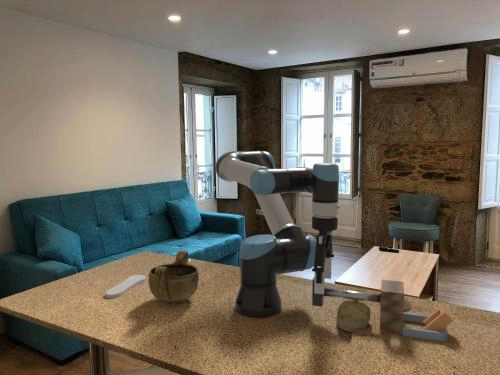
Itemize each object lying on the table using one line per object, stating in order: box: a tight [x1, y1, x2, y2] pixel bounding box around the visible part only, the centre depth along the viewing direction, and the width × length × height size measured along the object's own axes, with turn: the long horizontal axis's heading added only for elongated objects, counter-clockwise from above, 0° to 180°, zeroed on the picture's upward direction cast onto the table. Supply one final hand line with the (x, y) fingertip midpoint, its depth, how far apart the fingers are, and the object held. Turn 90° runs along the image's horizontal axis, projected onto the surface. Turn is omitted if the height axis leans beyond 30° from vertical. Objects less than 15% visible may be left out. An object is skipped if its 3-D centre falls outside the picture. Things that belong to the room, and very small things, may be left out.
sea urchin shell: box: [378, 295, 411, 311], centre depth 131 cm, size 9×8×8 cm
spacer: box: [422, 305, 454, 332], centre depth 112 cm, size 3×5×7 cm
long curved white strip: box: [105, 274, 147, 299], centre depth 153 cm, size 7×22×2 cm, turn 165°
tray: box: [402, 312, 449, 343], centre depth 114 cm, size 11×11×4 cm
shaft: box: [311, 276, 381, 307], centre depth 119 cm, size 22×3×8 cm, turn 71°
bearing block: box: [379, 279, 405, 336], centre depth 116 cm, size 6×10×13 cm, turn 161°
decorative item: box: [336, 299, 372, 333], centre depth 118 cm, size 10×10×10 cm
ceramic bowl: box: [148, 249, 200, 305], centre depth 139 cm, size 22×17×15 cm
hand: (323, 285), depth 122 cm, fingers open, 13 cm apart
